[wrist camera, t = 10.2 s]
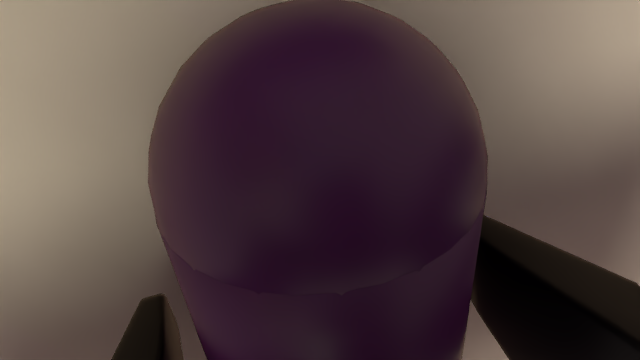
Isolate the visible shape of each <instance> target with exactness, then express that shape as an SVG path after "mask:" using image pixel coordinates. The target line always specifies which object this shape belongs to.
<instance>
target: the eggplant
mask: <svg viewBox="0 0 640 360" xmlns="http://www.w3.org/2000/svg"><path fill="white" fill-rule="evenodd" d="M487 167H488V156H487V150H486V144H485V138H484V134H483V129H482V125H481V121H480V116H479V112H478V109H477V107H476V105H475V103H474V101H473V99H472V97H471V95H470V93H469V91H468V89H467V87H466V85H465V83H464V81H463V80H462V78H461V76H460V75H459V73H458V71H457V70H456V68H455V67H454V66H453V65H452V64H451V63H450V61H449V60H448V59H447V58H446V57H445V56H444V54H443V53H442V52H441V51H440V50H439V49H438V48H437V46H436V45H434V44H433V43H432V42H431V41H430V40H429V39H427V38H426V37H425V36H423V35H422V34H421V33H419V32H418V31H416V30H415V29H414V28H412V27H411V26H409V25H408V24H407V23H405V22H404V21H402V20H400V19H398V18H396V17H394V16H392V15H390V14H387V13H385V12H382V11H380V10H377V9H374V8H372V7H369V6H366V5H363V4H360V3H357V2H352V1H346V0H292V1H287V2H283V3H279V4H274V5H271V6H267V7H263V8H260V9H257V10H254V11H252V12H249V13H247V14H245V15H243V16H241V17H239V18H238V19H236V20H235V21H233V22H232V23H230V24H228V25H227V26H225V27H224V28H222V29H221V30H219V31H218V32H216V33H215V34H213V35H212V36H210V37H209V38H208V39H207V40H206V41H205V42H204V43H203V44H202V45H201V46H200V47H199V48H198V49H197V50H196V51H195V52H194V53H193V54H192V56H191V57H190V58H189V59H188V60H187V61H186V62H185V63H184V64H183V65H182V66H181V68H180V69H179V71H178V73H177V75H176V77H175V78H174V80H173V82H172V84H171V86H170V87H169V89H168V91H167V93H166V95H165V97H164V98H163V100H162V102H161V104H160V106H159V109H158V112H157V116H156V120H155V123H154V127H153V131H152V135H151V140H150V147H149V162H148V185H149V189H150V194H151V198H152V202H153V207H154V211H155V217H156V223H157V226H158V229H159V231H160V234H161V237H162V239H163V242H164V245H165V247H166V250H167V253H168V256H169V258H170V261H171V264H172V266H173V269H174V272H175V274H176V277H177V280H178V282H179V285H180V288H181V290H182V293H183V296H184V299H185V301H186V304H187V307H188V309H189V312H190V315H191V317H192V320H193V323H194V325H195V328H196V331H197V334H198V336H199V339H200V342H201V344H202V347H203V350H204V352H205V355H206V358H207V360H462V353H463V347H464V340H465V333H466V327H467V320H468V314H469V307H470V300H471V294H472V287H473V280H474V274H475V267H476V260H477V254H478V247H479V240H480V234H481V227H482V220H483V214H484V207H485V200H486V194H487Z"/></svg>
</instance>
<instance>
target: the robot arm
mask: <svg viewBox="0 0 640 360" xmlns="http://www.w3.org/2000/svg"><path fill="white" fill-rule="evenodd" d="M471 301H472V303H473V305H474V306H475V308H476V310H477V312H478V314H479V315H480V317H481V318H482V320H483V321H484V323H485V324H486V326H487V327H488V329H489V330H490V332H491V333H492V335H493V336H494V338H495V339H496V341H497V342H498V344H499V345H500V347H501V348H502V350H503V351H504V353H505V354H506V356H507V357H508V358H509V360H640V286H639V285H638V284H637V283H635V282H633V281H631V280H628V279H626V278H624V277H622V276H619V275H617V274H615V273H613V272H610V271H608V270H606V269H604V268H602V267H599V266H597V265H595V264H593V263H590V262H588V261H586V260H584V259H581V258H579V257H577V256H575V255H572V254H570V253H568V252H566V251H563V250H561V249H559V248H557V247H554V246H552V245H550V244H548V243H545V242H543V241H541V240H539V239H536V238H534V237H532V236H530V235H527V234H525V233H523V232H521V231H518V230H516V229H514V228H512V227H509V226H507V225H505V224H503V223H500V222H498V221H496V220H494V219H491V218H489V217H487V216H485V215H483V220H482V227H481V234H480V240H479V247H478V254H477V260H476V267H475V274H474V280H473V287H472V294H471ZM111 360H184V358H183V352H182V346H181V340H180V334H179V329H178V325H177V322H176V319H175V316H174V314H173V311H172V309H171V307H170V304H169V302H168V299H167V297H166V295H165V294H157V295H154V296H150V297H147V298H144V299H142V300H141V301H140V303H139V305H138V307H137V309H136V311H135V313H134V315H133V317H132V319H131V321H130V323H129V325H128V327H127V329H126V331H125V333H124V335H123V337H122V339H121V341H120V343H119V345H118V347H117V349H116V351H115V353H114V355H113V357H112V359H111Z"/></svg>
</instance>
